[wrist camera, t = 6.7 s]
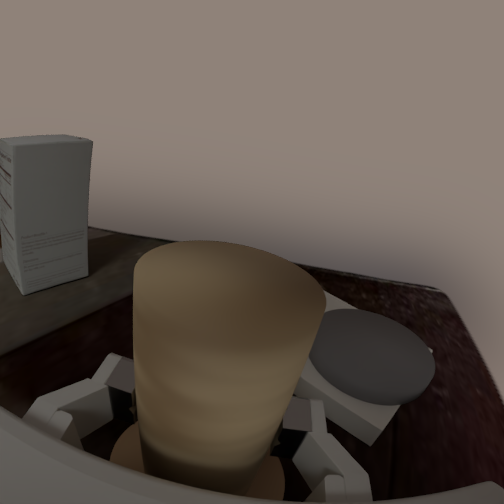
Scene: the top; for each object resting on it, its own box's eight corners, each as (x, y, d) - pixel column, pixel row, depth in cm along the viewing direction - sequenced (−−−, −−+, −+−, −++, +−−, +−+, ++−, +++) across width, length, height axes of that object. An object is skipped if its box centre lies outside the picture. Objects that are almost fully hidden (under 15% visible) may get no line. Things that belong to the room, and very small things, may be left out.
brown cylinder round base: (84, 453, 11) (37, 238, 7) (206, 401, 17) (239, 217, 13) (185, 582, 7) (210, 501, 3) (310, 489, 12) (423, 306, 8)
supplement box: (61, 249, 30) (65, 133, 26) (90, 278, 27) (96, 139, 22) (2, 263, 25) (-1, 136, 20) (20, 298, 21) (12, 142, 16)
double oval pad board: (167, 291, 28) (169, 263, 27) (257, 268, 36) (262, 246, 35) (383, 454, 15) (406, 426, 14) (433, 369, 23) (448, 344, 22)
